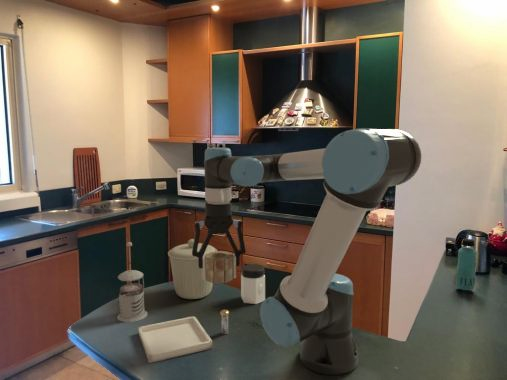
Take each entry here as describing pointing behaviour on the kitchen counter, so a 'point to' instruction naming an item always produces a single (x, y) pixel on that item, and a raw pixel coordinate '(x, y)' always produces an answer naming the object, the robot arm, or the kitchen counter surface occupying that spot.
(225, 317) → the stake
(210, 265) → the ring
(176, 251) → the canister
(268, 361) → the kitchen counter surface
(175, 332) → the tray
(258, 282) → the jar
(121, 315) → the french press
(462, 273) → the beverage bottle
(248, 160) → the robot arm
